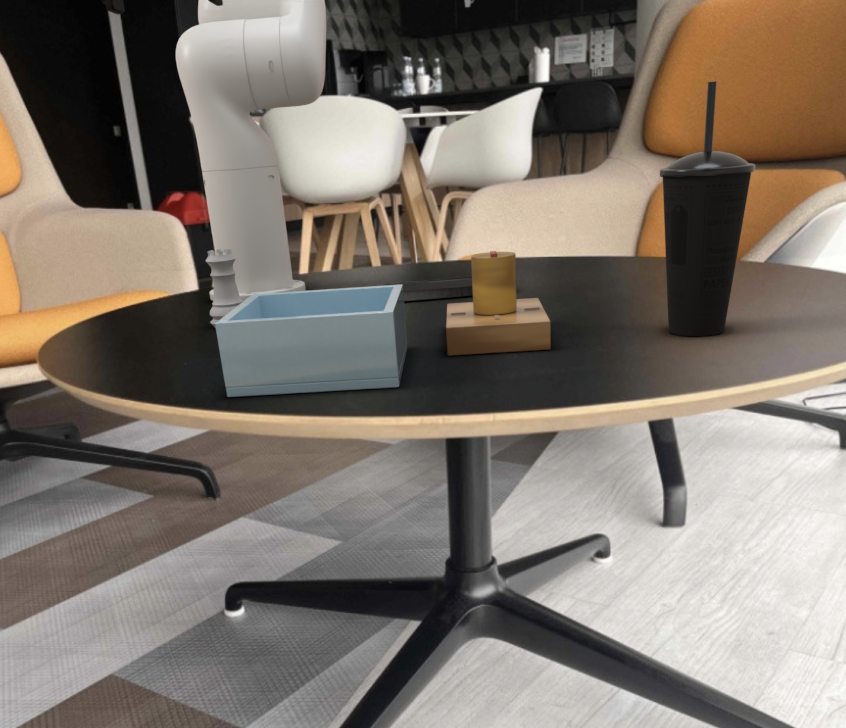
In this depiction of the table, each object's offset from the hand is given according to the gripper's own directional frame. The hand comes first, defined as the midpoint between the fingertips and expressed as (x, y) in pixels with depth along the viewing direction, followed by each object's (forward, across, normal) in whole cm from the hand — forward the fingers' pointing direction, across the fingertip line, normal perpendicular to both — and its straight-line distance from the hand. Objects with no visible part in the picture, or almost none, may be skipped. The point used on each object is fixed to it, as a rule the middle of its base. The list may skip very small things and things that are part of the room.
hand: (165, 8), depth 83 cm
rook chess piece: (+31, -1, -3) cm, 31 cm away
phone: (+30, -25, -15) cm, 42 cm away
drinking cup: (+31, -48, +15) cm, 59 cm away
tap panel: (+30, -30, +13) cm, 44 cm away
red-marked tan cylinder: (+28, -30, +13) cm, 43 cm away
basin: (+31, -15, +22) cm, 40 cm away
